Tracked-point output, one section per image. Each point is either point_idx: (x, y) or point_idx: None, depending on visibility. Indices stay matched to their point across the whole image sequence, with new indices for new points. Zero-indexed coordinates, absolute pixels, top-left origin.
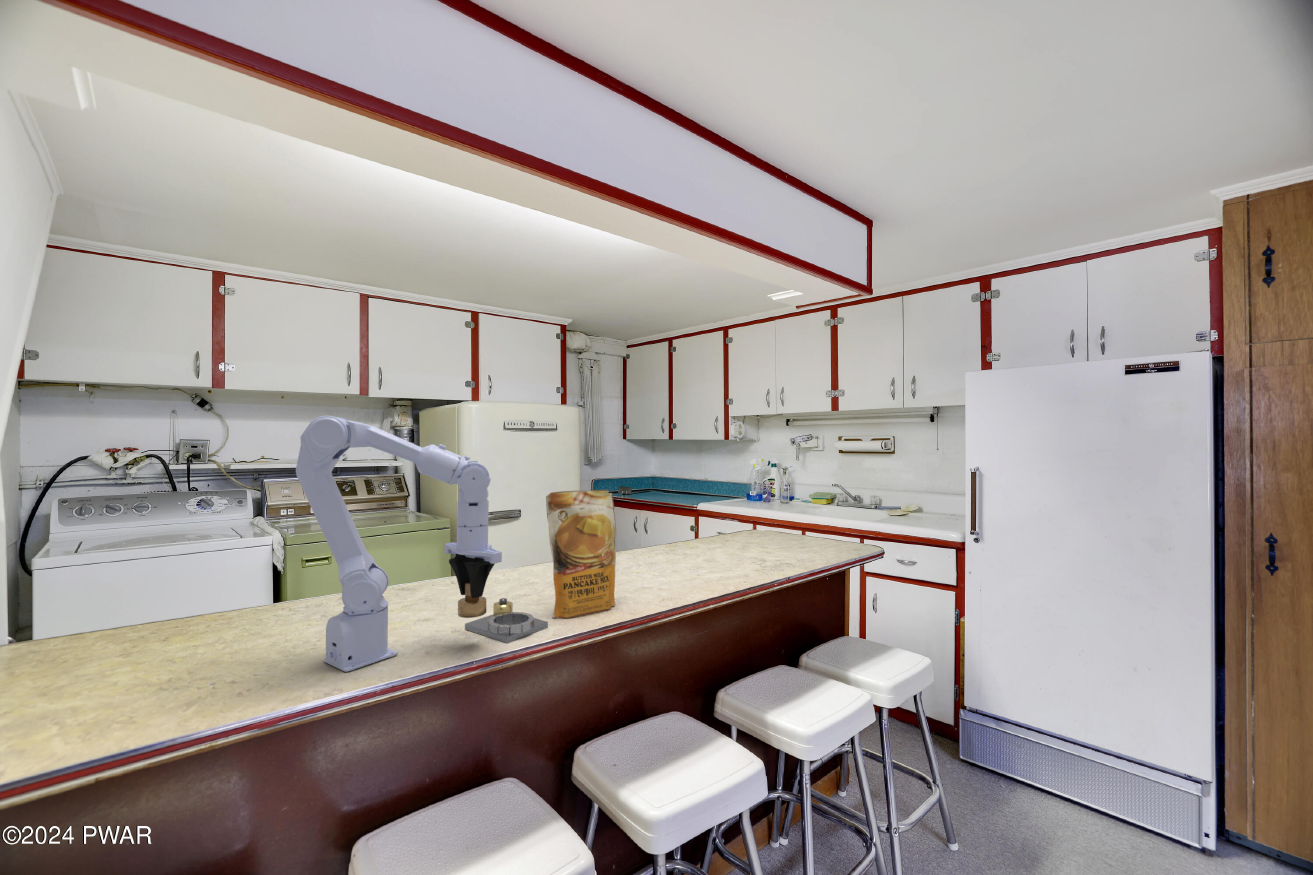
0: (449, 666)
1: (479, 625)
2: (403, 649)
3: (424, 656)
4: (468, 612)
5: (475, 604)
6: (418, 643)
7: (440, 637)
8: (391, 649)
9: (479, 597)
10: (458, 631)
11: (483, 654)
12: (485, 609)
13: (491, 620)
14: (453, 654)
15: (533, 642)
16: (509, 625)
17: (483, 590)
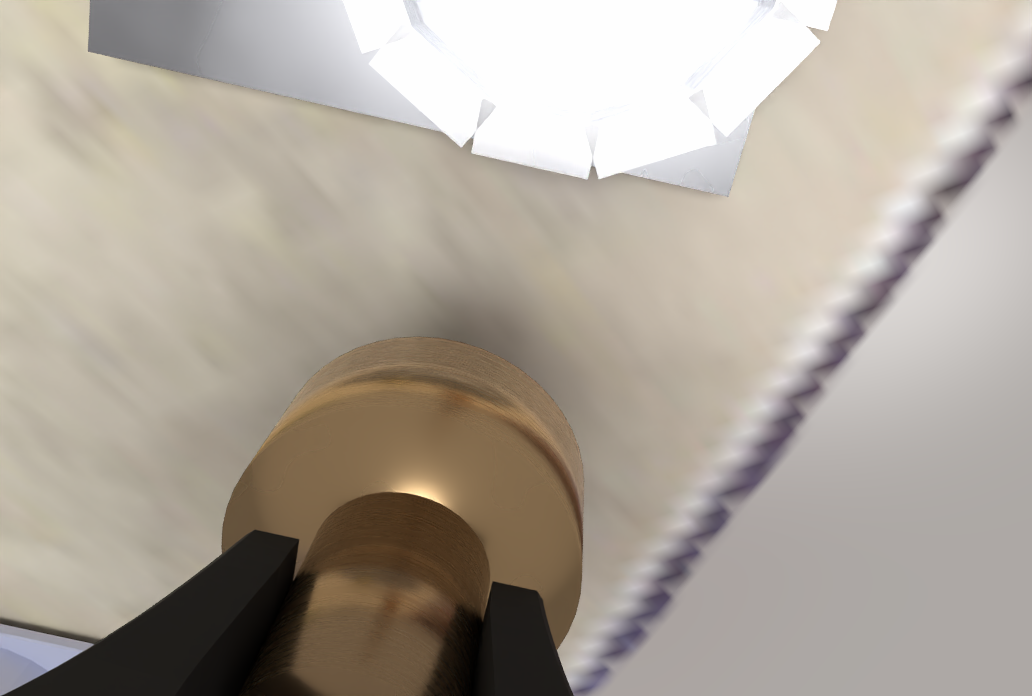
0: (578, 667)
1: (258, 32)
2: (75, 567)
3: None
4: None
5: None
6: (63, 453)
7: (97, 295)
8: (49, 647)
9: (406, 454)
10: (108, 116)
11: (669, 445)
12: (575, 465)
13: (404, 46)
14: None
15: (949, 65)
16: (693, 105)
17: (549, 636)
